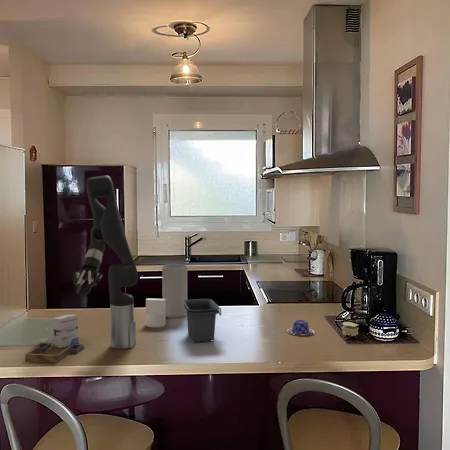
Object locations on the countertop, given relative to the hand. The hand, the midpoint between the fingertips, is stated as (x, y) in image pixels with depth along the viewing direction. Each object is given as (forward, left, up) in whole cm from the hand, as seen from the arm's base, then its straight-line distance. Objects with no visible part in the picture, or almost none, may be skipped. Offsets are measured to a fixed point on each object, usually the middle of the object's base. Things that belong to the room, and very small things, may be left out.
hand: (82, 292), depth 210 cm
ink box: (0, +16, -18) cm, 24 cm away
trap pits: (0, +23, -18) cm, 29 cm away
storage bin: (-53, -3, -18) cm, 56 cm away
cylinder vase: (-33, -36, -18) cm, 52 cm away
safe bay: (0, +31, -18) cm, 35 cm away
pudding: (-95, -15, -19) cm, 98 cm away
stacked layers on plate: (-116, -13, -19) cm, 118 cm away
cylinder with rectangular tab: (-28, -18, -18) cm, 38 cm away
